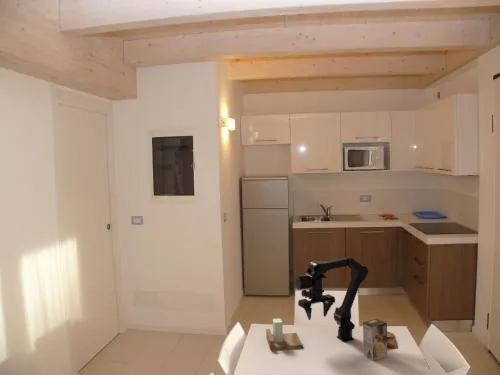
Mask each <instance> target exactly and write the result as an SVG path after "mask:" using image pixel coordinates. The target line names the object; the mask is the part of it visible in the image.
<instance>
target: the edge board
mask: <svg viewBox="0 0 500 375" xmlns="http://www.w3.org/2000/svg"><path fill="white" fill-rule="evenodd" d="M265 332H266V333H265V335H266V336H265V337H266V341H267V344H268V347H269V350H270V351H275V350H276V351H277V350H278V351H279V350H291V349H292V350H293V349H303V348H304V346H303V345H304V344H303V343H302V341H301V339H300V337H299V335H298V333H297V332H289V333H283V342H276V343H275V342H274V339H273V332H272V331H271V329H270V328H266V329H265Z"/></svg>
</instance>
